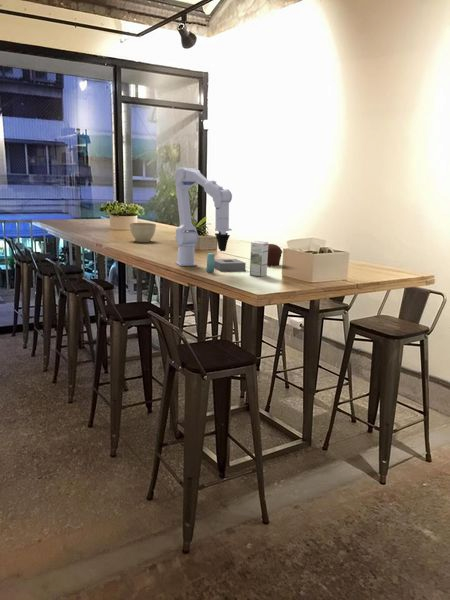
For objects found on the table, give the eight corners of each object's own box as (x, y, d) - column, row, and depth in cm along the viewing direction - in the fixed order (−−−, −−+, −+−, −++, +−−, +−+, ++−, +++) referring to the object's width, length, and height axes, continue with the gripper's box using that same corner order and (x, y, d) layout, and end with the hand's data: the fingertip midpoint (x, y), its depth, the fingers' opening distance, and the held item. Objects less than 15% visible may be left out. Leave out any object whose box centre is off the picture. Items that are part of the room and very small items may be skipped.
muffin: (255, 262, 258) (256, 242, 256) (276, 262, 261) (277, 242, 259) (263, 266, 247) (264, 245, 245) (285, 266, 250) (286, 246, 248)
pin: (205, 271, 229) (206, 253, 227) (212, 271, 230) (213, 253, 228) (208, 272, 226) (208, 254, 224) (215, 272, 227) (215, 254, 225)
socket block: (211, 266, 242) (211, 259, 241) (235, 266, 246) (235, 258, 245) (220, 271, 231) (220, 263, 230) (245, 270, 235) (245, 262, 234)
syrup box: (267, 275, 225) (269, 241, 222) (261, 277, 220) (262, 243, 217) (255, 273, 228) (257, 240, 225) (249, 275, 223) (250, 241, 220)
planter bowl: (125, 241, 320) (125, 223, 318) (136, 239, 335) (136, 222, 333) (149, 243, 316) (149, 225, 313) (159, 241, 331) (160, 223, 328)
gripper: (233, 219, 216) (233, 251, 218) (229, 217, 230) (229, 248, 233) (216, 219, 215) (216, 251, 218) (213, 217, 229) (213, 248, 232)
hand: (222, 250), depth 225 cm, fingers open, 7 cm apart
